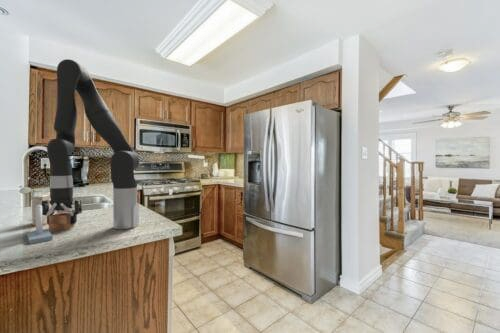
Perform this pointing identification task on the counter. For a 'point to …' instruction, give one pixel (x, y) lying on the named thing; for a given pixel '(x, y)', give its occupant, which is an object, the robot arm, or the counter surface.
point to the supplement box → (38, 201)
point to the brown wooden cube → (59, 222)
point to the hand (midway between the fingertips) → (62, 224)
